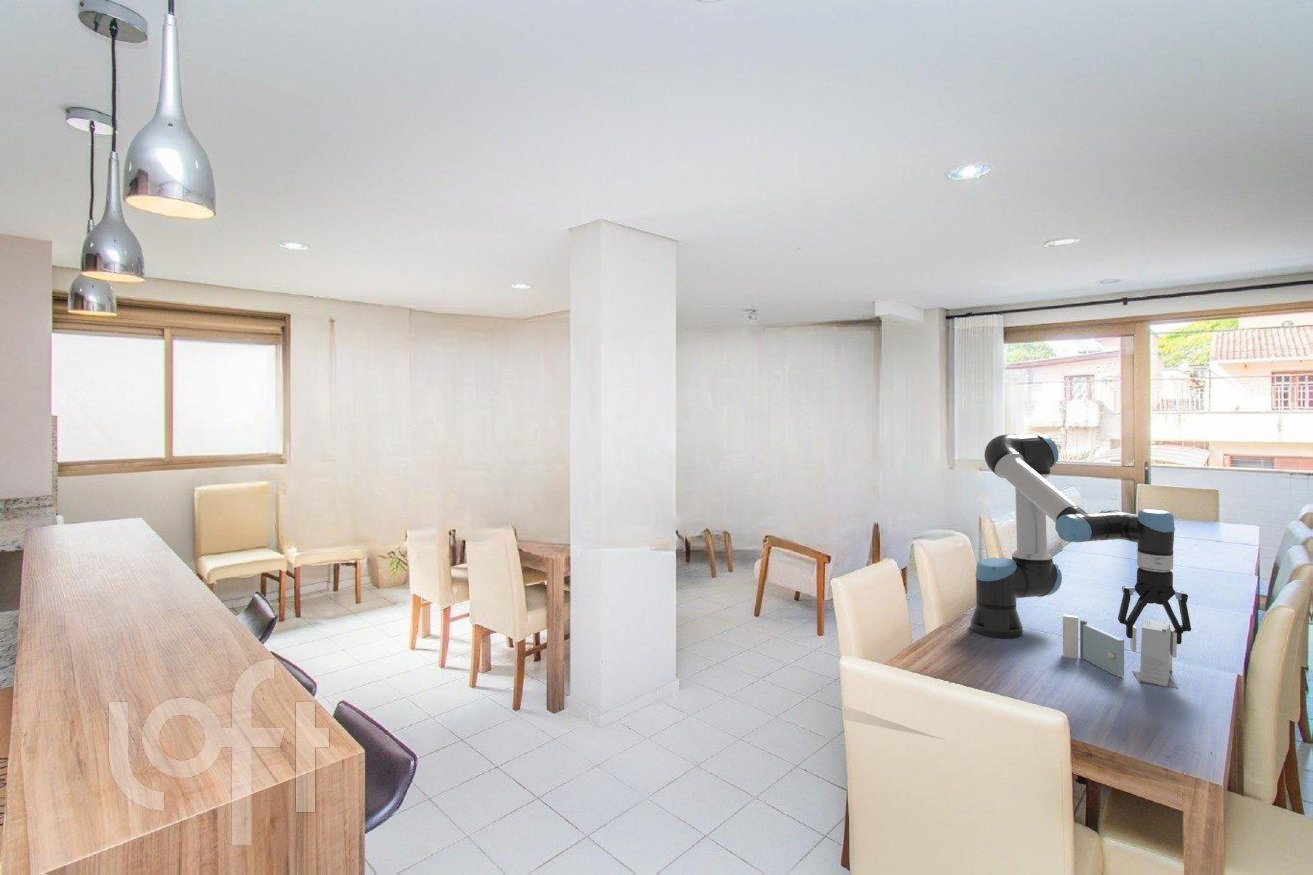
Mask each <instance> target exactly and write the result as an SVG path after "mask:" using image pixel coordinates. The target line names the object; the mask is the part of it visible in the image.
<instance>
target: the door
mask: <svg viewBox="0 0 1313 875" xmlns="http://www.w3.org/2000/svg"><path fill="white" fill-rule="evenodd" d="M1079 624H1080V625H1079V627H1080V628H1079V630H1080V634H1079V636H1080V638H1079V643H1080V644H1079V645H1080V646H1079V647H1080V650H1079V654H1080V655H1079V657H1080V658H1082V659H1084V660H1086V661H1087V662H1089V663H1091V664H1093V665H1095V666H1097V667H1099V668H1101V669H1103V670H1104V671H1106V672H1109V674H1112V675H1114V676H1116V677H1118V678H1119V677H1121V678H1124V677H1125V639H1123V638H1120V637H1118V636H1116V635H1114V634H1112V633H1109V632H1107V631H1106V630H1103V629H1101V628H1097V626H1094V625H1091V624H1089V623H1088V621H1087V620H1080V621H1079Z"/></svg>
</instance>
